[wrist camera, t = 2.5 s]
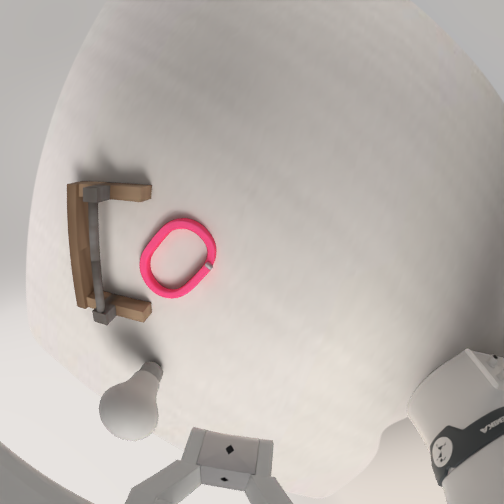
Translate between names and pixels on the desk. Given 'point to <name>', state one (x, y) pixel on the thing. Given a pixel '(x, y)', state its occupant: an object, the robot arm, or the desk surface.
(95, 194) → the wooden bar clamp
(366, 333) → the desk surface
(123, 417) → the lightbulb
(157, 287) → the fitness band
